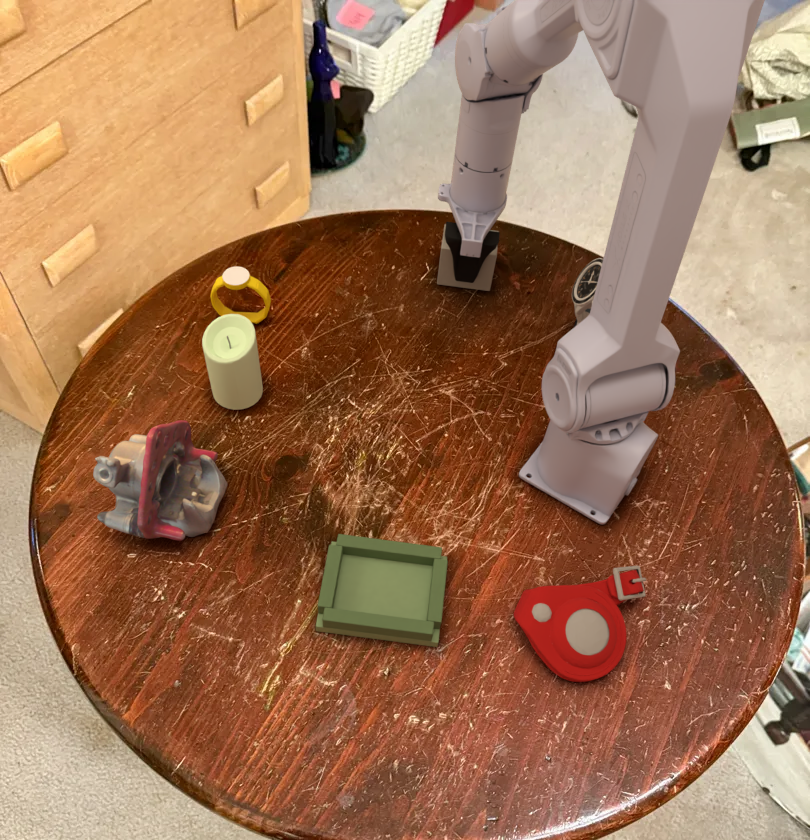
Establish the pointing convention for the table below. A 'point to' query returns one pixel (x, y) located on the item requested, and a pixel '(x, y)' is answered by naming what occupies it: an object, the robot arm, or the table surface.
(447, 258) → the grey beige block
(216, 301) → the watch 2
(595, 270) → the watch
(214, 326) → the candle
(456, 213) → the robot arm
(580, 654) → the tracker holder
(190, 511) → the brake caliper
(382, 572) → the green tray
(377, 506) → the table surface
